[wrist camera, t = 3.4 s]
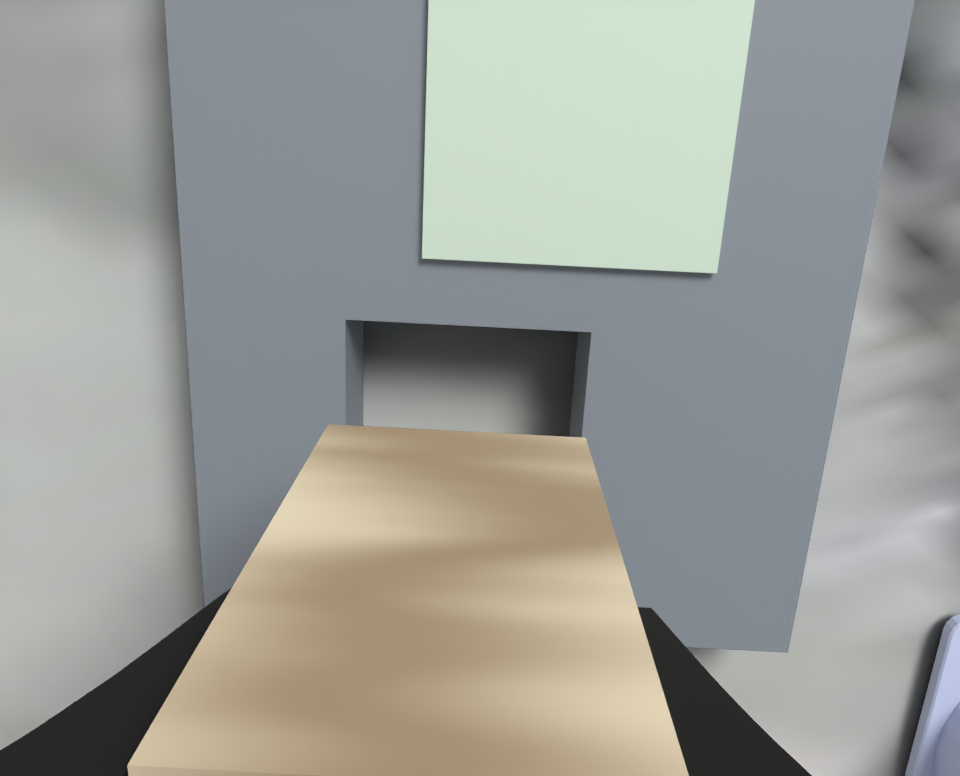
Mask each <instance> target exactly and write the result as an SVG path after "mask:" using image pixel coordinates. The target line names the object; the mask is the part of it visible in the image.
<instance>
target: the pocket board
mask: <svg viewBox="0 0 960 776" xmlns="http://www.w3.org/2000/svg"><path fill="white" fill-rule="evenodd" d="M914 2H915V0H164V6H165V21H166V36H167V52H168V67H169V82H170V97H171V112H172V127H173V143H174V158H175V173H176V188H177V203H178V218H179V234H180V249H181V264H182V279H183V294H184V309H185V324H186V340H187V355H188V370H189V385H190V400H191V415H192V431H193V446H194V461H195V476H196V491H197V506H198V522H199V537H200V552H201V567H202V582H203V597H204V608H205V607H206V606H207V605H208V604H210V603H211V602H212V601H214V600H215V599H216V598H218V597H219V596H220V595H222V594H223V593H225V592H226V591H227V590H229V589H230V588H232V587H233V585H234V583H235V582H236V580H237V578H238V577H239V575H240V573H241V571H242V570H243V568H244V566H245V565H246V563H247V561H248V560H249V558H250V556H251V554H252V553H253V551H254V549H255V548H256V546H257V544H258V543H259V541H260V539H261V537H262V536H263V534H264V532H265V531H266V529H267V527H268V526H269V524H270V522H271V521H272V519H273V517H274V515H275V514H276V512H277V510H278V509H279V507H280V505H281V504H282V502H283V500H284V498H285V497H286V495H287V493H288V492H289V490H290V488H291V487H292V485H293V483H294V482H295V480H296V478H297V476H298V475H299V473H300V471H301V470H302V468H303V466H304V465H305V463H306V461H307V459H308V458H309V456H310V454H311V453H312V451H313V449H314V448H315V446H316V444H317V442H318V441H319V439H320V437H321V436H322V434H323V432H324V431H325V429H326V427H327V426H328V424H331V425H351V426H363V321H381V322H401V323H420V324H440V325H459V326H479V327H498V328H518V329H537V330H557V331H576V332H578V336H577V347H576V359H575V370H574V381H573V393H572V404H571V416H570V427H569V437H583V438H586V440H587V443H588V446H589V450H590V453H591V456H592V459H593V463H594V466H595V469H596V473H597V476H598V479H599V482H600V486H601V489H602V492H603V496H604V499H605V502H606V505H607V509H608V512H609V515H610V519H611V522H612V525H613V528H614V532H615V535H616V538H617V542H618V545H619V548H620V551H621V555H622V558H623V561H624V564H625V568H626V571H627V574H628V578H629V581H630V584H631V587H632V591H633V594H634V597H635V601H636V604H637V607H646V608H652V609H653V610H654V611H655V613H656V614H657V615H658V616H659V617H660V618H661V619H662V620H663V622H664V623H665V624H666V625H667V626H668V627H669V628H670V630H671V631H672V632H673V633H674V634H675V635H676V636H677V637H678V639H679V640H680V641H681V642H682V643H683V644H684V645H685V647H691V648H711V649H730V650H749V651H768V652H787V653H788V649H789V644H790V639H791V634H792V629H793V624H794V618H795V613H796V608H797V603H798V598H799V593H800V588H801V583H802V577H803V572H804V567H805V562H806V557H807V552H808V547H809V541H810V536H811V531H812V526H813V521H814V516H815V511H816V505H817V500H818V495H819V490H820V485H821V480H822V475H823V469H824V464H825V459H826V454H827V449H828V444H829V439H830V433H831V428H832V423H833V418H834V413H835V408H836V403H837V398H838V392H839V387H840V382H841V377H842V372H843V367H844V362H845V356H846V351H847V346H848V341H849V336H850V331H851V326H852V320H853V315H854V310H855V305H856V300H857V295H858V290H859V284H860V279H861V274H862V269H863V264H864V259H865V254H866V249H867V243H868V238H869V233H870V228H871V223H872V218H873V213H874V207H875V202H876V197H877V192H878V187H879V182H880V177H881V171H882V166H883V161H884V156H885V151H886V146H887V141H888V135H889V130H890V125H891V120H892V115H893V110H894V105H895V99H896V94H897V89H898V84H899V79H900V74H901V69H902V64H903V58H904V53H905V48H906V43H907V38H908V33H909V28H910V22H911V17H912V12H913V7H914Z"/></svg>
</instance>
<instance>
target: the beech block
mask: <svg viewBox="0 0 960 776" xmlns="http://www.w3.org/2000/svg"><path fill="white" fill-rule="evenodd" d="M127 768H128V776H689V774H688V771H687V768H686V765H685V761H684V758H683V755H682V751H681V748H680V745H679V742H678V738H677V735H676V732H675V729H674V725H673V722H672V719H671V715H670V712H669V709H668V706H667V702H666V699H665V696H664V692H663V689H662V686H661V683H660V679H659V676H658V673H657V669H656V666H655V663H654V660H653V656H652V653H651V650H650V646H649V643H648V640H647V637H646V633H645V630H644V627H643V624H642V620H641V617H640V614H639V610H638V607H637V604H636V601H635V597H634V594H633V591H632V587H631V584H630V581H629V578H628V574H627V571H626V568H625V564H624V561H623V558H622V555H621V551H620V548H619V545H618V542H617V538H616V535H615V532H614V528H613V525H612V522H611V519H610V515H609V512H608V509H607V505H606V502H605V499H604V496H603V492H602V489H601V486H600V482H599V479H598V476H597V473H596V469H595V466H594V463H593V459H592V456H591V453H590V450H589V446H588V443H587V440H586V438H583V437H564V436H544V435H525V434H506V433H486V432H467V431H448V430H428V429H409V428H389V427H370V426H351V425H331V424H328V426H327V427H326V429H325V431H324V432H323V434H322V436H321V437H320V439H319V441H318V442H317V444H316V446H315V448H314V449H313V451H312V453H311V454H310V456H309V458H308V459H307V461H306V463H305V465H304V466H303V468H302V470H301V471H300V473H299V475H298V476H297V478H296V480H295V482H294V483H293V485H292V487H291V488H290V490H289V492H288V493H287V495H286V497H285V498H284V500H283V502H282V504H281V505H280V507H279V509H278V510H277V512H276V514H275V515H274V517H273V519H272V521H271V522H270V524H269V526H268V527H267V529H266V531H265V532H264V534H263V536H262V537H261V539H260V541H259V543H258V544H257V546H256V548H255V549H254V551H253V553H252V554H251V556H250V558H249V560H248V561H247V563H246V565H245V566H244V568H243V570H242V571H241V573H240V575H239V577H238V578H237V580H236V582H235V583H234V585H233V587H232V588H231V590H230V592H229V593H228V595H227V597H226V599H225V600H224V602H223V604H222V605H221V607H220V609H219V610H218V612H217V614H216V616H215V617H214V619H213V621H212V622H211V624H210V626H209V627H208V629H207V631H206V633H205V634H204V636H203V638H202V639H201V641H200V643H199V644H198V646H197V648H196V649H195V651H194V653H193V655H192V656H191V658H190V660H189V661H188V663H187V665H186V666H185V668H184V670H183V672H182V673H181V675H180V677H179V678H178V680H177V682H176V683H175V685H174V687H173V689H172V690H171V692H170V694H169V695H168V697H167V699H166V700H165V702H164V704H163V705H162V707H161V709H160V711H159V712H158V714H157V716H156V717H155V719H154V721H153V722H152V724H151V726H150V728H149V729H148V731H147V733H146V734H145V736H144V738H143V739H142V741H141V743H140V745H139V746H138V748H137V750H136V751H135V753H134V755H133V756H132V758H131V760H130V761H129V763H128V765H127Z"/></svg>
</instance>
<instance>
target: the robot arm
mask: <svg viewBox="0 0 960 776" xmlns="http://www.w3.org/2000/svg"><path fill="white" fill-rule="evenodd" d="M230 590H231V588H230V589H229V590H227V591H226V592H225V593H223V594H222V595H220V596H219V597H218V598H216V599H215V600H214V601H212V602H211V603H210V604H208V605H207V606H206V607H205V608H203V609H202V610H201V611H199V612H198V613H197V614H195V615H194V616H193V617H192V618H190V619H189V620H188V621H186V622H185V623H184V624H182V625H181V626H180V627H179V628H177V629H176V630H175V631H173V632H172V633H171V634H169V635H168V636H167V637H165V638H164V639H163V640H161V641H160V642H159V643H157V644H156V645H155V646H153V647H152V648H151V649H149V650H148V651H147V652H145V653H144V654H143V655H141V656H140V657H139V658H137V659H136V660H134V661H133V662H132V663H130V664H129V665H128V666H126V667H125V668H124V669H122V670H121V671H120V672H118V673H117V674H115V675H114V676H113V677H111V678H110V679H108V680H107V681H105V682H104V683H102V684H101V685H99V686H98V687H96V688H95V689H94V690H92V691H91V692H89V693H88V694H86V695H85V696H83V697H82V698H80V699H79V700H77V701H76V702H74V703H73V704H71V705H70V706H68V707H67V708H65V709H64V710H63V711H61V712H60V713H58V714H57V715H55V716H54V717H52V718H51V719H49V720H48V721H46V722H45V723H43V724H42V725H40V726H39V727H37V728H36V729H34V730H33V731H31V732H30V733H28V734H26V735H25V736H23V737H22V738H20V739H18V740H17V741H15V742H14V743H12V744H10V745H9V746H7V747H5V748H4V749H2V750H0V776H128V768H127V765H128V763H129V761H130V760H131V758H132V756H133V755H134V753H135V751H136V750H137V748H138V746H139V745H140V743H141V741H142V739H143V738H144V736H145V734H146V733H147V731H148V729H149V728H150V726H151V724H152V722H153V721H154V719H155V717H156V716H157V714H158V712H159V711H160V709H161V707H162V705H163V704H164V702H165V700H166V699H167V697H168V695H169V694H170V692H171V690H172V689H173V687H174V685H175V683H176V682H177V680H178V678H179V677H180V675H181V673H182V672H183V670H184V668H185V666H186V665H187V663H188V661H189V660H190V658H191V656H192V655H193V653H194V651H195V649H196V648H197V646H198V644H199V643H200V641H201V639H202V638H203V636H204V634H205V633H206V631H207V629H208V627H209V626H210V624H211V622H212V621H213V619H214V617H215V616H216V614H217V612H218V610H219V609H220V607H221V605H222V604H223V602H224V600H225V599H226V597H227V595H228V593H229V592H230ZM638 610H639V614H640V617H641V620H642V624H643V627H644V630H645V633H646V637H647V640H648V643H649V646H650V650H651V653H652V656H653V660H654V663H655V666H656V669H657V673H658V676H659V679H660V683H661V686H662V689H663V692H664V696H665V699H666V702H667V706H668V709H669V712H670V715H671V719H672V722H673V725H674V729H675V732H676V735H677V738H678V742H679V745H680V748H681V751H682V755H683V758H684V761H685V765H686V768H687V771H688V774H689V776H812V775H810V774H809V773H808V772H807V771H806V770H805V769H804V768H803V767H802V766H801V765H800V764H799V763H798V762H797V761H795V760H794V759H793V758H792V757H791V756H790V755H789V754H788V753H787V752H786V751H785V750H784V749H783V748H782V747H780V746H779V745H778V744H777V743H776V742H775V741H774V740H773V739H772V738H771V737H770V736H769V735H768V734H767V733H766V732H765V731H764V730H763V729H762V728H761V727H760V726H759V725H758V724H757V723H756V722H755V721H754V720H753V719H752V718H751V717H750V716H749V715H748V714H747V713H746V712H745V711H744V710H743V709H742V708H741V707H740V706H739V705H738V704H737V703H736V702H735V701H734V699H733V698H732V697H731V696H730V695H729V694H728V693H727V692H726V691H725V690H724V689H723V688H722V687H721V686H720V685H719V684H718V682H717V681H716V680H715V679H714V678H713V677H712V676H711V675H710V674H709V673H708V671H707V670H706V669H705V668H704V667H703V666H702V665H701V664H700V662H699V661H698V660H697V659H696V658H695V657H694V656H693V655H692V653H691V652H690V651H689V650H688V649H687V648H686V647H685V645H684V644H683V643H682V642H681V641H680V640H679V639H678V637H677V636H676V635H675V634H674V633H673V632H672V631H671V630H670V628H669V627H668V626H667V625H666V624H665V623H664V622H663V620H662V619H661V618H660V617H659V616H658V615H657V614H656V613H655V611H654V610H653V609H652V608H646V607H638ZM905 776H960V614H958V615H956V616H953V617H952V618H950V619H949V620H948V621H947V622H946V624H945V626H944V628H943V631H942V635H941V639H940V643H939V647H938V651H937V654H936V658H935V662H934V666H933V670H932V674H931V677H930V681H929V685H928V689H927V693H926V696H925V700H924V704H923V708H922V712H921V716H920V719H919V723H918V727H917V731H916V735H915V739H914V742H913V746H912V750H911V754H910V758H909V761H908V765H907V769H906V773H905Z"/></svg>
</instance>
